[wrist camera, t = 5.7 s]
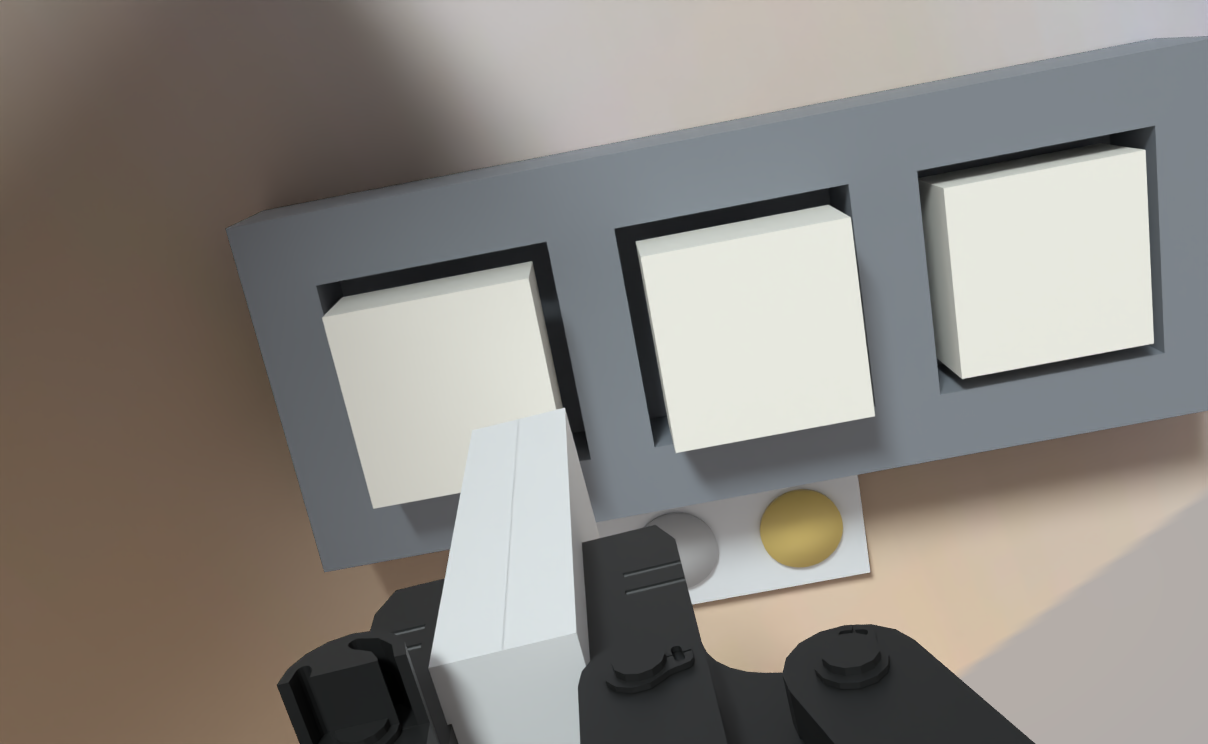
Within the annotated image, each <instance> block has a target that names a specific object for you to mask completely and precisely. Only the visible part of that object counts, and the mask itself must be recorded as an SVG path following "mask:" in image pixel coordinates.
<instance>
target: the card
mask: <svg viewBox="0 0 1208 744" xmlns="http://www.w3.org/2000/svg"><path fill="white" fill-rule="evenodd" d="M596 525H597V529H598V533H599V536H600V538H603V537H607V536H611V535H615V534H619V533H623V532H627V531H631V530H636V529H640V528H644V527H648V526H652V525H656V526H658V527H659V528H661V529H662V530H663V531H665V532H666V533H668V534H669V535H670V536H672V537H673V538H675V540H676V544H677V548H678V552H679V556H680V559H681V563H682V567H683V571H684V575H685V579H686V583H687V587H688V591H689V595H690V599H691V603H692V604H698V603H703V602H709V601H714V600H720V599H725V598H731V597H737V596H742V595H748V594H753V593H759V592H764V591H770V590H775V589H781V588H786V587H792V586H797V585H803V584H809V583H814V582H820V581H825V580H831V579H836V578H842V577H847V576H853V575H858V574H864V573H870V566H869V558H868V550H867V542H866V535H865V527H864V519H863V511H862V504H861V496H860V488H859V480H858V475H853V476H848V477H842V478H837V479H831V480H826V481H820V482H815V483H809V484H804V485H799V486H793V487H788V488H782V489H777V490H771V491H766V492H760V493H755V494H749V495H744V496H738V497H733V498H728V499H722V500H717V501H711V502H706V503H700V504H695V505H689V506H684V507H678V508H673V509H667V510H662V511H657V512H651V513H646V514H640V515H635V516H629V517H624V518H618V519H613V520H607V521H602V522H596Z"/></svg>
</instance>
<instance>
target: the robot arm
mask: <svg viewBox="0 0 1208 744" xmlns="http://www.w3.org/2000/svg"><path fill="white" fill-rule="evenodd" d="M277 687H278V690H279V692H280V695H281V697H282V700H283V702H284V705H285V707H286V710H287V712H288V715H289V717H290V720H291V723H292V725H293V728H294V730H295V733H296V735H297V738H298V740H299V743H300V744H1035V743H1034V742H1033V741H1031V740H1030V739H1029V738H1028V737H1027V736H1026V735H1024V734H1023V733H1022V732H1021V731H1020V730H1019V729H1018V728H1016V727H1015V726H1014V725H1013V724H1012V723H1010V722H1009V721H1008V720H1007V719H1006V718H1005V717H1004V716H1002V715H1001V714H1000V713H999V712H998V711H997V710H995V709H994V708H993V707H992V706H991V705H990V704H988V703H987V702H986V701H985V700H983V698H982V697H980V696H979V695H978V694H977V693H976V692H974V691H973V690H972V689H971V688H970V687H969V686H967V685H966V684H965V683H964V682H963V681H962V680H961V679H959V678H958V677H957V676H956V675H955V674H954V673H952V672H951V671H950V670H949V669H948V668H947V667H945V666H944V665H943V664H942V663H941V662H940V661H938V660H937V659H936V658H935V657H934V656H933V655H932V654H930V653H929V652H928V651H927V650H926V649H925V648H923V647H922V646H921V645H920V644H919V643H918V642H916V641H915V640H914V639H912V638H910V637H908V636H907V635H905V634H903V633H901V632H899V631H898V630H896V629H891V628H887V627H882V626H877V625H872V624H868V625H844V626H840V627H837V628H833V629H829V630H825V631H821V632H819V633H817V634H815V635H813V636H812V637H810V638H808V639H806V640H804V641H803V642H801V643H799V644H798V645H797V646H796V648H795V649H794V650H793V651H792V652H791V653H790V654H789V655H788V657H787V658H786V661H785V665H784V670H783V673H758V672H746V671H741V670H737V669H733V668H729V667H727V666H725V665H723V664H721V663H719V662H717V661H716V660H714V659H713V658H712V657H711V656H710V655H709V654H708V653H707V652H706V650H705V648H704V646H703V644H702V642H701V638H700V634H699V630H698V626H697V622H696V618H695V614H694V610H693V606H692V603H691V599H690V595H689V591H688V587H687V583H686V579H685V575H684V571H683V567H682V563H681V559H680V556H679V552H678V548H677V544H676V540H675V538H673V537H672V536H670V535H669V534H668V533H666V532H665V531H663V530H662V529H661V528H659V527H658V526H656V525H652V526H648V527H644V528H640V529H636V530H631V531H627V532H623V533H619V534H615V535H611V536H607V537H603V538H600V536H599V533H598V529H597V525H596V521H595V518H594V514H593V510H592V507H591V503H590V499H589V495H588V492H587V488H586V484H585V480H584V477H583V473H582V469H581V466H580V462H579V458H578V454H577V451H576V447H575V443H574V440H573V436H572V432H571V428H570V425H569V421H568V417H567V413H566V410H565V408H562V409H557V410H553V411H549V412H545V413H541V414H537V415H533V416H529V417H525V418H521V419H517V420H513V421H509V422H504V423H500V424H496V425H492V426H488V427H484V428H480V429H476V430H472V434H471V439H470V445H469V450H468V456H467V461H466V467H465V472H464V477H463V483H462V488H461V494H460V499H459V505H458V510H457V515H456V521H455V526H454V532H453V537H452V542H451V548H450V553H449V559H448V564H447V570H446V575H445V579H441V580H437V581H433V582H429V583H424V584H420V585H416V586H412V587H408V588H404V589H400V590H396V591H395V592H394V593H393V595H392V596H391V597H390V598H389V599H388V600H387V601H386V603H385V604H384V605H383V606H382V607H381V608H380V609H379V610H378V612H377V613H376V614H375V616H374V620H373V623H372V626H371V630H370V631H369V632H361V633H354V634H350V635H347V636H345V637H342V638H339V639H336V640H333V641H330V642H327V643H326V644H324V645H322V646H320V647H318V648H317V649H315V650H313V651H311V652H309V653H307V654H306V655H304V656H303V657H302V658H301V659H300V660H298V661H297V662H296V663H295V664H294V665H292V666H291V667H290V668H289V669H288V670H287V671H286V672H285V674H284V675H283V677H282V678H281V680H280V681H279V683H278V684H277Z"/></svg>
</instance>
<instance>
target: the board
mask: <svg viewBox="0 0 1208 744" xmlns="http://www.w3.org/2000/svg"><path fill="white" fill-rule="evenodd" d="M1099 143H1103V144H1110V145H1117V146H1123V147H1130V148H1136V149H1143V150H1146V173H1147V195H1148V218H1149V241H1150V264H1151V287H1152V310H1153V332H1154V344H1148V345H1143V346H1137V347H1132V348H1127V349H1121V350H1116V351H1110V352H1105V353H1100V354H1094V355H1089V356H1083V357H1078V358H1073V359H1067V360H1062V361H1056V362H1051V363H1046V364H1040V365H1035V366H1029V367H1024V368H1019V369H1013V370H1008V371H1002V372H997V373H992V374H986V375H981V376H975V377H970V378H965V379H962V378H960V377H959V376H958V375H957V374H955V373H954V372H953V371H952V370H951V369H949V368H948V367H947V366H946V365H944V364H943V363H942V362H941V361H940V360H938V359H937V358H936V349H935V339H934V329H933V320H932V310H931V300H930V291H929V281H928V271H927V262H926V252H925V242H924V233H923V223H922V213H921V204H920V194H919V184H918V178H921V177H926V176H932V175H937V174H942V173H947V172H953V171H958V170H963V169H968V168H973V167H979V166H984V165H989V164H994V163H1000V162H1005V161H1010V160H1015V159H1021V158H1026V157H1031V156H1036V155H1042V154H1047V153H1052V152H1057V151H1063V150H1068V149H1073V148H1078V147H1084V146H1089V145H1094V144H1099ZM824 205H830V206H832V207H833V208H835V209H837V210H839V211H841V212H842V213H844V214H846V215H848V216H849V217H851V223H852V231H853V240H854V248H855V256H856V264H857V272H858V280H859V289H860V297H861V305H862V313H863V321H864V330H865V338H866V346H867V354H868V362H869V370H870V379H871V387H872V395H873V403H874V411H875V416H874V417H868V418H863V419H857V420H852V421H847V422H841V423H836V424H830V425H825V426H819V427H814V428H809V429H803V430H798V431H792V432H787V433H782V434H776V435H771V436H765V437H760V438H754V439H749V440H744V441H738V442H733V443H727V444H722V445H717V446H711V447H706V448H700V449H695V450H689V451H684V452H679V453H676V452H675V448H674V444H673V440H672V436H671V432H670V428H669V424H668V419H667V414H666V408H665V403H664V397H663V391H662V386H661V380H660V375H659V369H658V364H657V358H656V353H655V347H654V341H653V336H652V330H651V325H650V319H649V314H648V308H647V303H646V297H645V292H644V286H643V280H642V275H641V269H640V264H639V258H638V253H637V247H636V242H635V241H640V240H646V239H651V238H656V237H661V236H667V235H672V234H677V233H682V232H688V231H693V230H698V229H703V228H709V227H714V226H719V225H724V224H730V223H735V222H740V221H745V220H751V219H756V218H761V217H766V216H772V215H777V214H782V213H787V212H793V211H798V210H803V209H808V208H814V207H819V206H824ZM226 232H227V236H228V239H229V243H230V246H231V250H232V253H233V257H234V260H235V264H236V267H237V270H238V274H239V277H240V281H241V284H242V288H243V291H244V295H245V298H246V302H247V305H248V309H249V312H250V316H251V319H252V323H253V326H254V329H255V333H256V336H257V340H258V343H259V347H260V350H261V354H262V357H263V361H264V364H265V368H266V371H267V375H268V378H269V382H270V385H271V388H272V392H273V395H274V399H275V402H276V406H277V409H278V413H279V416H280V420H281V423H282V427H283V430H284V434H285V437H286V441H287V444H288V447H289V451H290V454H291V458H292V461H293V465H294V468H295V472H296V475H297V479H298V482H299V486H300V489H301V493H302V496H303V500H304V503H305V506H306V510H307V513H308V517H309V520H310V524H311V527H312V531H313V534H314V538H315V541H316V545H317V548H318V552H319V555H320V559H321V562H322V565H323V569H324V572H329V571H334V570H340V569H345V568H351V567H356V566H362V565H367V564H373V563H378V562H383V561H389V560H394V559H400V558H405V557H411V556H416V555H422V554H427V553H433V552H438V551H444V550H449V549H450V548H451V542H452V537H453V532H454V526H455V521H456V515H457V510H458V505H459V499H460V494H461V493H456V494H451V495H446V496H440V497H435V498H429V499H424V500H419V501H413V502H408V503H402V504H397V505H391V506H386V507H381V508H375V509H373V506H372V502H371V498H370V495H369V491H368V487H367V483H366V480H365V476H364V472H363V469H362V465H361V461H360V457H359V454H358V450H357V446H356V443H355V439H354V435H353V431H352V428H351V424H350V420H349V417H348V413H347V409H346V405H345V402H344V398H343V394H342V391H341V387H340V383H339V379H338V376H337V372H336V368H335V364H334V361H333V357H332V353H331V350H330V346H329V342H328V338H327V335H326V331H325V327H324V324H323V320H322V317H323V316H324V315H325V314H326V313H327V312H328V311H329V310H330V309H331V308H332V307H333V306H334V305H335V304H336V303H337V302H338V301H339V300H340V299H341V298H342V297H346V296H351V295H357V294H362V293H367V292H372V291H378V290H383V289H388V288H393V287H399V286H404V285H409V284H414V283H420V282H425V281H430V280H435V279H441V278H446V277H451V276H456V275H462V274H467V273H472V272H477V271H483V270H488V269H493V268H498V267H504V266H509V265H514V264H520V263H525V262H530V261H532V262H533V267H534V271H535V276H536V281H537V286H538V290H539V295H540V300H541V305H542V310H543V314H544V319H545V324H546V329H547V334H548V338H549V343H550V348H551V353H552V358H553V362H554V367H555V372H556V377H557V382H558V386H559V391H560V396H561V401H562V405H563V408H565V410H566V413H567V417H568V421H569V425H570V428H571V432H572V436H573V440H574V443H575V447H576V451H577V454H578V458H579V462H580V466H581V469H582V473H583V477H584V480H585V484H586V488H587V492H588V495H589V499H590V503H591V507H592V510H593V514H594V518H595V521H596V522H602V521H607V520H613V519H618V518H624V517H629V516H635V515H640V514H646V513H651V512H657V511H662V510H667V509H673V508H678V507H684V506H689V505H695V504H700V503H706V502H711V501H717V500H722V499H728V498H733V497H738V496H744V495H749V494H755V493H760V492H766V491H771V490H777V489H782V488H788V487H793V486H799V485H804V484H809V483H815V482H820V481H826V480H831V479H837V478H842V477H848V476H853V475H859V474H864V473H869V472H875V471H880V470H886V469H891V468H897V467H902V466H908V465H913V464H919V463H924V462H930V461H935V460H940V459H946V458H951V457H957V456H962V455H968V454H973V453H979V452H984V451H990V450H995V449H1001V448H1006V447H1011V446H1017V445H1022V444H1028V443H1033V442H1039V441H1044V440H1050V439H1055V438H1061V437H1066V436H1072V435H1077V434H1082V433H1088V432H1093V431H1099V430H1104V429H1110V428H1115V427H1121V426H1126V425H1132V424H1137V423H1143V422H1148V421H1153V420H1159V419H1164V418H1170V417H1175V416H1181V415H1186V414H1192V413H1197V412H1203V411H1208V36H1202V37H1178V38H1155V39H1150V40H1145V41H1140V42H1134V43H1129V44H1124V45H1119V46H1114V47H1108V48H1103V49H1098V50H1093V51H1088V52H1083V53H1077V54H1072V55H1067V56H1062V57H1057V58H1051V59H1046V60H1041V61H1036V62H1031V63H1026V64H1020V65H1015V66H1010V67H1005V68H1000V69H995V70H989V71H984V72H979V73H974V74H969V75H963V76H958V77H953V78H948V79H943V80H938V81H932V82H927V83H922V84H917V85H912V86H906V87H901V88H896V89H891V90H886V91H881V92H875V93H870V94H865V95H860V96H855V97H849V98H844V99H839V100H834V101H829V102H824V103H818V104H813V105H808V106H803V107H798V108H793V109H787V110H782V111H777V112H772V113H767V114H761V115H756V116H751V117H746V118H741V119H736V120H730V121H725V122H720V123H715V124H710V125H704V126H699V127H694V128H689V129H684V130H679V131H673V132H668V133H663V134H658V135H653V136H648V137H642V138H637V139H632V140H627V141H622V142H616V143H611V144H606V145H601V146H596V147H591V148H585V149H580V150H575V151H570V152H565V153H559V154H554V155H549V156H544V157H539V158H534V159H528V160H523V161H518V162H513V163H508V164H502V165H497V166H492V167H487V168H482V169H477V170H471V171H466V172H461V173H456V174H451V175H446V176H440V177H435V178H430V179H425V180H420V181H414V182H409V183H404V184H399V185H394V186H389V187H383V188H378V189H373V190H368V191H363V192H357V193H352V194H347V195H342V196H337V197H332V198H326V199H321V200H316V201H311V202H306V203H300V204H295V205H290V206H285V207H280V208H275V209H269V210H264V211H262V212H259V213H257V214H255V215H253V216H251V217H249V218H247V219H245V220H243V221H240V222H238V223H236V224H234V225H232V226H230V227H228V228H226Z"/></svg>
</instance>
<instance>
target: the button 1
mask: <svg viewBox="0 0 1208 744" xmlns="http://www.w3.org/2000/svg"><path fill="white" fill-rule="evenodd" d="M322 320H323V324H324V327H325V331H326V335H327V338H328V342H329V346H330V350H331V353H332V357H333V361H334V364H335V368H336V372H337V376H338V379H339V383H340V387H341V391H342V394H343V398H344V402H345V405H346V409H347V413H348V417H349V420H350V424H351V428H352V431H353V435H354V439H355V443H356V446H357V450H358V454H359V457H360V461H361V465H362V469H363V472H364V476H365V480H366V483H367V487H368V491H369V495H370V498H371V502H372V506H373V509H375V508H381V507H386V506H391V505H397V504H402V503H408V502H413V501H419V500H424V499H429V498H435V497H440V496H446V495H451V494H456V493H461V488H462V483H463V477H464V472H465V467H466V461H467V456H468V450H469V445H470V439H471V434H472V430H476V429H480V428H484V427H488V426H492V425H496V424H500V423H504V422H509V421H513V420H517V419H521V418H525V417H529V416H533V415H537V414H541V413H545V412H549V411H553V410H557V409H562V408H563V405H562V401H561V396H560V391H559V386H558V382H557V377H556V372H555V367H554V362H553V358H552V353H551V348H550V343H549V338H548V334H547V329H546V324H545V319H544V314H543V310H542V305H541V300H540V295H539V290H538V286H537V281H536V276H535V271H534V267H533V262H532V261H530V262H525V263H520V264H514V265H509V266H504V267H498V268H493V269H488V270H483V271H477V272H472V273H467V274H462V275H456V276H451V277H446V278H441V279H435V280H430V281H425V282H420V283H414V284H409V285H404V286H399V287H393V288H388V289H383V290H378V291H372V292H367V293H362V294H357V295H351V296H346V297H342V298H341V299H340V300H339V301H338V302H337V303H336V304H335V305H334V306H333V307H332V308H331V309H330V310H329V311H328V312H327V313H326V314H325V315H324V316H323V317H322Z"/></svg>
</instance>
